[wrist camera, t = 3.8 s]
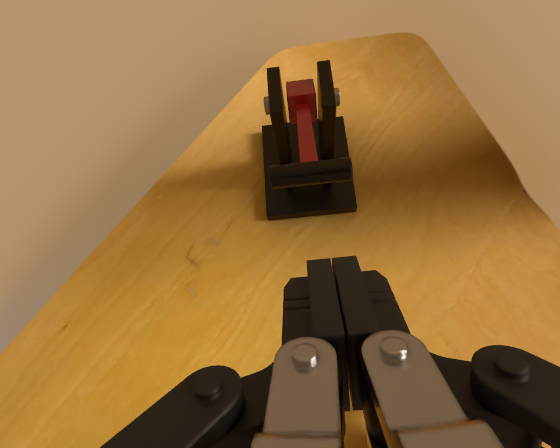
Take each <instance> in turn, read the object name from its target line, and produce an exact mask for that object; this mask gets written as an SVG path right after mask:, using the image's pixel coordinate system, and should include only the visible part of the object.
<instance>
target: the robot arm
mask: <svg viewBox="0 0 560 448" xmlns="http://www.w3.org/2000/svg"><path fill="white" fill-rule="evenodd" d="M332 270H333V271H332ZM307 272H308V277H298V278H291V279H290V280H289V282H288V283H287V284H286V286H285V287H284V298H283V300H284V301H283V326H282V346H281V347H280V348H279V350H278V351H277V353H276V355H275V358H274V362H273V363H272V364H271V365H269V366H268V367H266V368H265V369H263V370H261V371H259V372H256V373H253V374H250V375H248V376H245V377H242V378H240V376H239V374H238V373H237V372H236V371H235V370H233V369H231V368H229V367H226V366H219V365H218V366H209V367H205V368H202V369H200V370H197V371H196V372H194V373H192V374H191V375H189V376H188V377H187V378H186V379H184V380H183V381H182V382H181V383H179V384H178V385H177V386H176V387H174V388H173V389H172V390H171V391H169V392H168V393H167V394H166V395H165V396H163V397H162V398H161V399H160V400H158V401H157V402H156V403H155V404H153V405H152V406H151V407H150V408H148V409H147V410H146V411H145V412H143V413H142V414H141V415H140V416H139V417H137V418H136V419H135V420H134V421H132V422H131V423H130V424H129V425H127V426H126V427H125V428H124V429H122V430H121V431H120V432H119V433H117V434H116V435H115V436H114V437H113V438H111V439H110V440H109V441H108V442H106V443H105V444H104V445H103V446H101V447H100V448H344V436H345V431H346V426H345V414H344V411H350V399H349V390H350V396H351V401H352V407H353V410H363V413H364V418H365V423H366V440H367V444H368V448H544V447H542V446H541V444H542V441H543V442H545V443H546V444H548V445H550V446H551V447H553V448H560V367H558V366H556V365H554V364H552V363H550V362H548V361H546V360H543V359H541V358H539V357H537V356H535V355H533V354H530V353H528V352H526V351H524V350H521V349H518V348H515V347H510V346H503V345H492V346H487V347H483V348H481V349H479V350H478V351H476V352H475V353H474V355H473V357H472V361H471V362H470V361H464V360H457V359H451V358H446V357H442V356H438V355H435V354H433V353H431V352H429V351H428V350H427V348H426V346H425V345H424V344H423V343H422V342H421V341H420V340H419V339H418V338H416V337H415V336H413V335H411V333H410V331H409V329H408V327H407V324H406V322H405V320H404V317H403V315H402V313H401V310H400V308H399V306H398V304H397V301H396V300H395V297H394V294H393V292H392V291H391V288H390V285H389V283H388V281H387V279H386V278H385V277H384V276H382V275H381V274H380V273H379V272H377V271H376V270H372V271H362V272H361V269H360V266H359V263H358V260H357V257H356V256H348V257H338V258H332V265H331V260H330V258H328V259H318V260H307ZM348 384H349V385H348Z"/></svg>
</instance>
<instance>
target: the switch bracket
mask: <svg viewBox="0 0 560 448" xmlns="http://www.w3.org/2000/svg"><path fill="white" fill-rule="evenodd" d="M267 80H268V95H269V96H268V97H264V107H265V113H266V115H269V114H270V117H271V122H272V125H265V126H262V138H263V156H264V174H265V192H266V210H267V218H268V220H278V219H288V218H298V217H308V216H318V215H328V214H338V213H348V212H356V209H357V204H356V197H355V191H354V184H353V178H352V180H351V181H342V182H333V183H324V184H314V185H305V186H295V187H286V188H277V189H272V188H271V185H270V178H269V166H273V165H282V164H291V163H300V153H299V142H298V132H297V124H290V123H287V118H286V111H285V104H284V97H283V90H282V83H281V76H280V69H279V67H273V68H267ZM317 84H318V119H317V121H315V122H312V125H313V131H314V138H315V144H316V151H317V157H318V160H327V159H336V158H345V157H349V152H348V146H347V139H346V133H345V126H344V120H343V116H341V117H336V106H339V105H340V96H339V89H338V88H334V86H333V79H332V72H331V66H330V60H327V61H319V62H317Z"/></svg>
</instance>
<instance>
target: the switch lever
mask: <svg viewBox="0 0 560 448" xmlns="http://www.w3.org/2000/svg"><path fill="white" fill-rule="evenodd" d="M286 88H287V101H288V110H289V119H290V124H297V132H298V142H299V153H300V163H291V164H282V165H273V166H269V178H270V185H271V188H272V189H277V188H286V187H295V186H305V185H314V184H324V183H333V182H342V181H351V180H352V177H353V171H352V162H351V159H350V157H345V158H336V159H327V160H318V157H317V151H316V144H315V138H314V131H313V125H312V122H315V121H317V108H316V93H315V88H314V82H313V79H307V80H299V81H291V82H286Z"/></svg>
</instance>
